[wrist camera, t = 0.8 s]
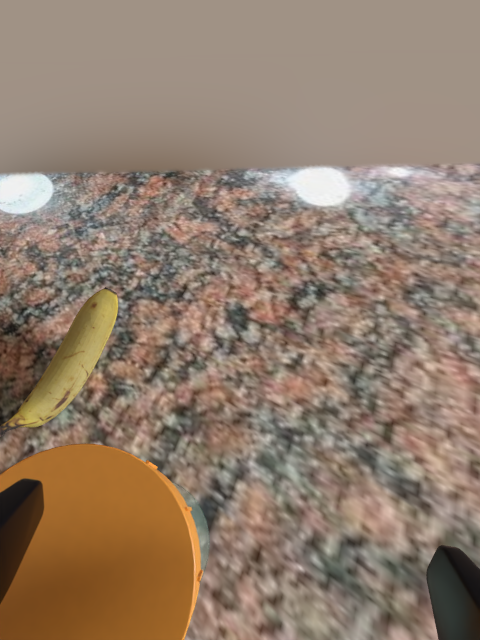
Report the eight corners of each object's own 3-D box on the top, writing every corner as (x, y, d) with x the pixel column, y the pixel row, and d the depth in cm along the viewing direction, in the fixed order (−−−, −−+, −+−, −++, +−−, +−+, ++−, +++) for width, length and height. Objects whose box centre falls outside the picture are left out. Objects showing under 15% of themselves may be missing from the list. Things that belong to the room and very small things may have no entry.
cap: (153, 756, 11) (136, 816, 9) (-76, 668, 12) (-146, 704, 9) (227, 486, 14) (228, 482, 12) (42, 429, 15) (10, 415, 12)
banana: (111, 307, 28) (94, 277, 25) (139, 322, 28) (126, 294, 24) (9, 435, 24) (-29, 421, 21) (40, 455, 24) (7, 445, 20)
